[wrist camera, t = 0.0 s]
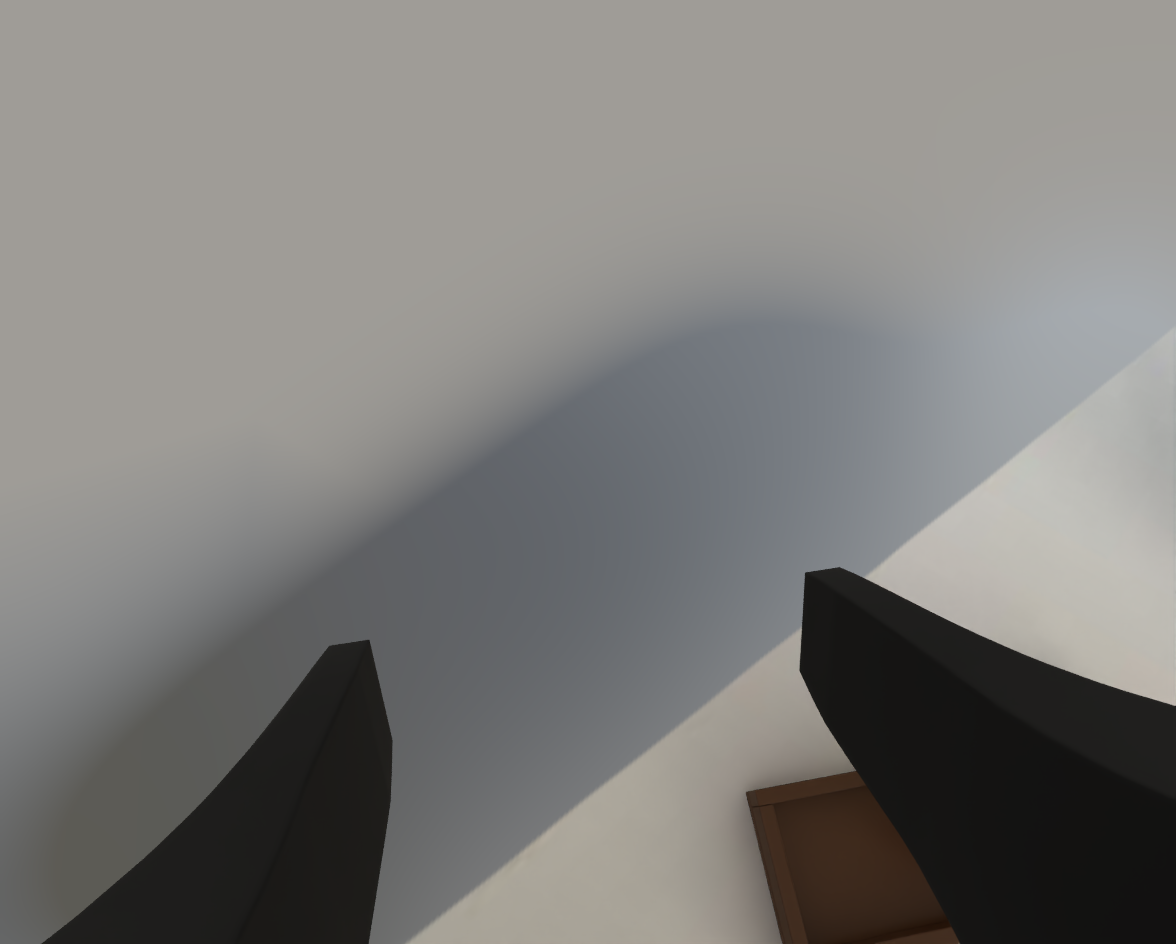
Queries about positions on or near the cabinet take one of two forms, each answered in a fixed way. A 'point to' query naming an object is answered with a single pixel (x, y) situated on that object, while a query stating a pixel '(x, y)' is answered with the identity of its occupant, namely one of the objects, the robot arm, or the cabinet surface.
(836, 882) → the tray
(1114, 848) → the robot arm
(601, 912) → the cabinet surface
